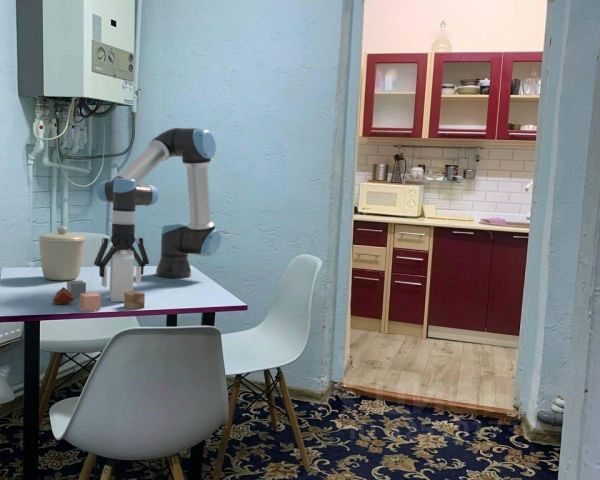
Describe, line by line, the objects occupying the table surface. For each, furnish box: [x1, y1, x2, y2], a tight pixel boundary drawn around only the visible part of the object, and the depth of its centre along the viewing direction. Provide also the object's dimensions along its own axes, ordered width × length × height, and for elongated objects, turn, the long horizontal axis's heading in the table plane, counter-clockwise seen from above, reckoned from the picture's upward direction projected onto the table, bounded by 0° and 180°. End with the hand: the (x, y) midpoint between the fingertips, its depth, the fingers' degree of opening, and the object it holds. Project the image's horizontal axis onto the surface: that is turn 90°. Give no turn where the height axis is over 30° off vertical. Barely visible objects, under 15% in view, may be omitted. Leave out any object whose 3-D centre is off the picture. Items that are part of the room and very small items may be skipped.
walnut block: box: [123, 290, 146, 310], centre depth 190 cm, size 5×5×5 cm
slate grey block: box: [66, 280, 87, 298], centre depth 200 cm, size 5×5×5 cm
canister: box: [36, 225, 87, 282], centre depth 228 cm, size 18×18×21 cm
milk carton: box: [109, 245, 135, 303], centre depth 198 cm, size 7×7×19 cm
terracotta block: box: [78, 292, 101, 312], centre depth 183 cm, size 5×5×5 cm
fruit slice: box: [52, 286, 76, 305], centre depth 188 cm, size 8×7×5 cm
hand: (121, 285), depth 199 cm, fingers open, 11 cm apart
